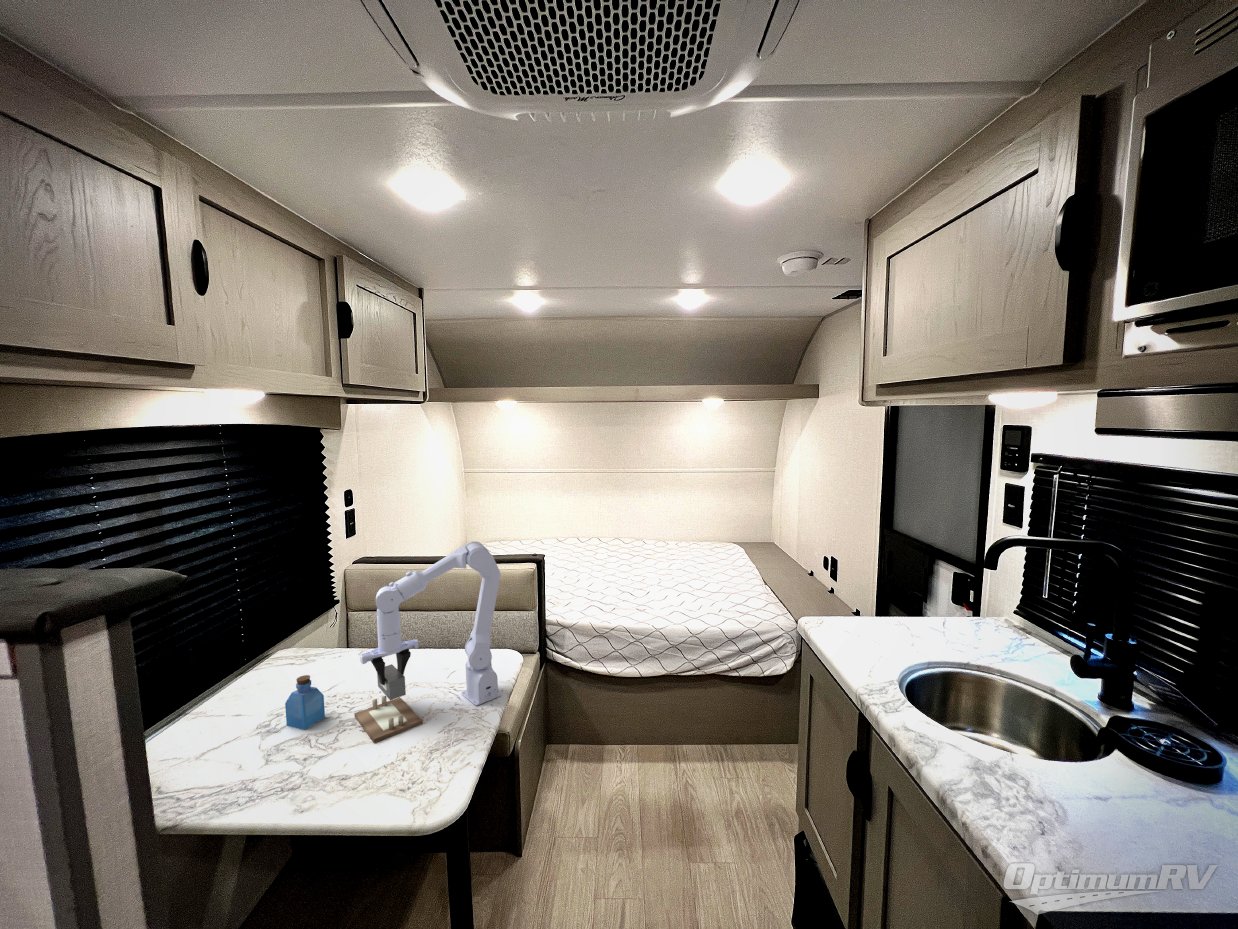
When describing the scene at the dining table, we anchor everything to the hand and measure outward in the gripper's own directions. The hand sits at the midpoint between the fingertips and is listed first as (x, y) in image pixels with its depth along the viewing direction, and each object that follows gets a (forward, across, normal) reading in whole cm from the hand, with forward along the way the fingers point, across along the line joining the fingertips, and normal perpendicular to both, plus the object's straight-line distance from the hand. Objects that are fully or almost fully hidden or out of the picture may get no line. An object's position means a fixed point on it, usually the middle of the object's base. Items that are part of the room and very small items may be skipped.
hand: (391, 680), depth 138 cm
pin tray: (+9, +2, +2) cm, 10 cm away
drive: (+3, 0, 0) cm, 3 cm away
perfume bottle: (+10, +18, -13) cm, 24 cm away
